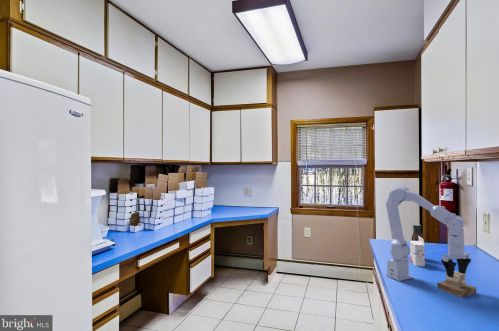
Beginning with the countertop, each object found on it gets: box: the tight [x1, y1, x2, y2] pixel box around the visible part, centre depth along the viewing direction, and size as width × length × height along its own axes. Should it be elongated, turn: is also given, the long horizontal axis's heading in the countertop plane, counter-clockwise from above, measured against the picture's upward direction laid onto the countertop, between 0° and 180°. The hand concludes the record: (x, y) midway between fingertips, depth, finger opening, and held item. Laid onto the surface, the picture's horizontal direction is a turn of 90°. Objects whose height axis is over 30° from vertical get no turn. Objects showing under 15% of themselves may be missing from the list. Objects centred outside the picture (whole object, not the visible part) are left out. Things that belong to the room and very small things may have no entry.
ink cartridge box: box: [409, 236, 426, 267], centre depth 161 cm, size 9×5×15 cm, turn 168°
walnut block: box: [437, 280, 477, 299], centre depth 127 cm, size 10×10×3 cm
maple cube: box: [445, 270, 466, 288], centre depth 127 cm, size 5×5×5 cm
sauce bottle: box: [410, 223, 424, 241], centre depth 170 cm, size 6×6×20 cm
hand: (456, 275), depth 127 cm, fingers open, 7 cm apart
